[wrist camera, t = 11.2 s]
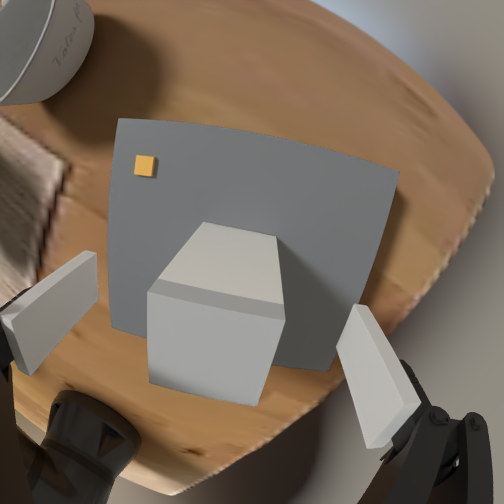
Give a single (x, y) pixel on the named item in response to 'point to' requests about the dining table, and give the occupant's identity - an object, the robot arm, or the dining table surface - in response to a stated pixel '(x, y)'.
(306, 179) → the plate
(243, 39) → the dining table surface
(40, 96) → the teacup
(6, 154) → the dining table surface
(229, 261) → the plug
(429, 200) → the dining table surface
